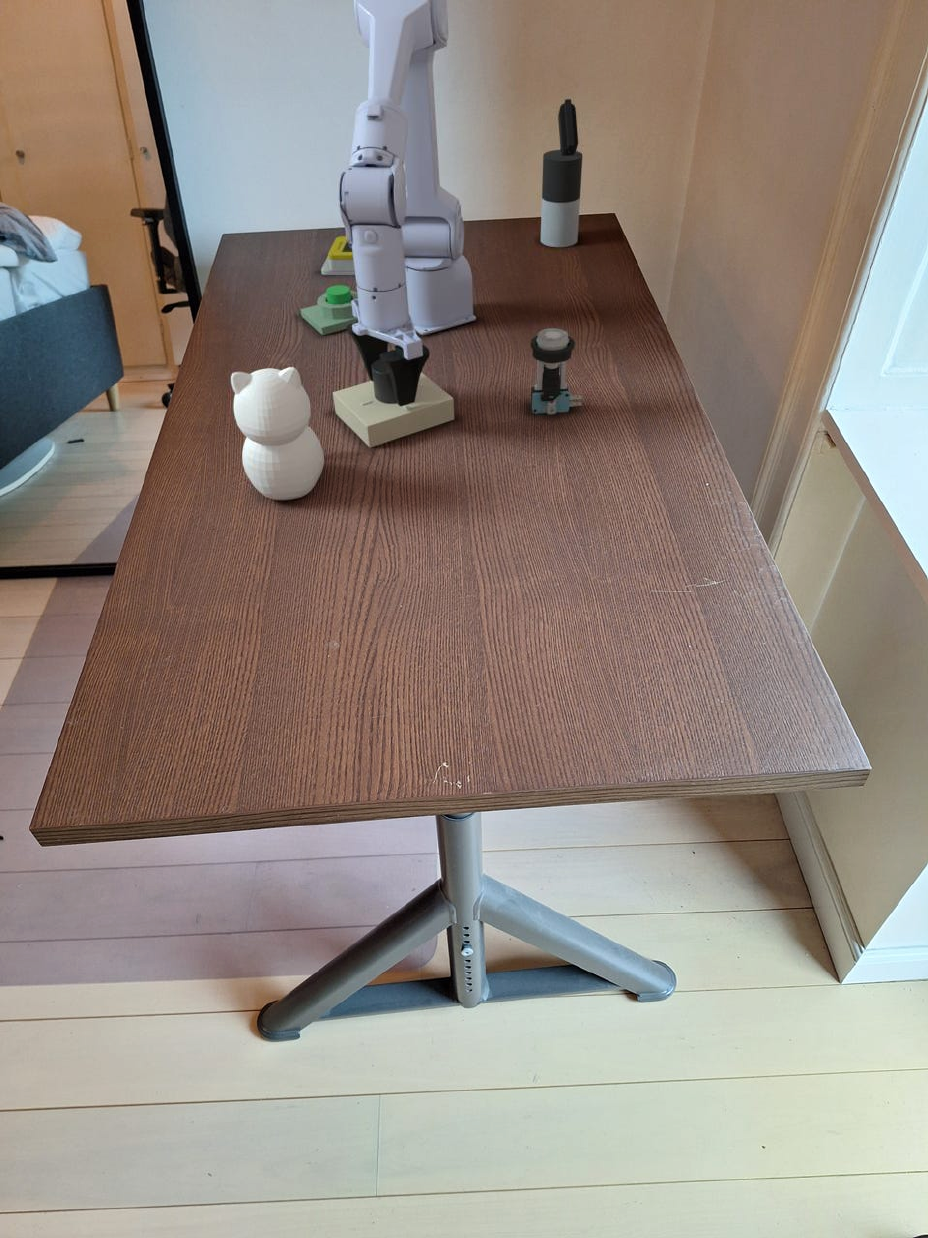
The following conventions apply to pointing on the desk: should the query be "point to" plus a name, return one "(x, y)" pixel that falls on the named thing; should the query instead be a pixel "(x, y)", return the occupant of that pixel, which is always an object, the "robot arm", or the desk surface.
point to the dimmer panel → (392, 411)
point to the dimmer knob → (382, 383)
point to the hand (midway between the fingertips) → (391, 390)
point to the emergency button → (339, 258)
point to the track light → (562, 184)
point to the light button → (338, 294)
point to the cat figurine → (277, 433)
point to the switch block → (330, 315)
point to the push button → (552, 372)
